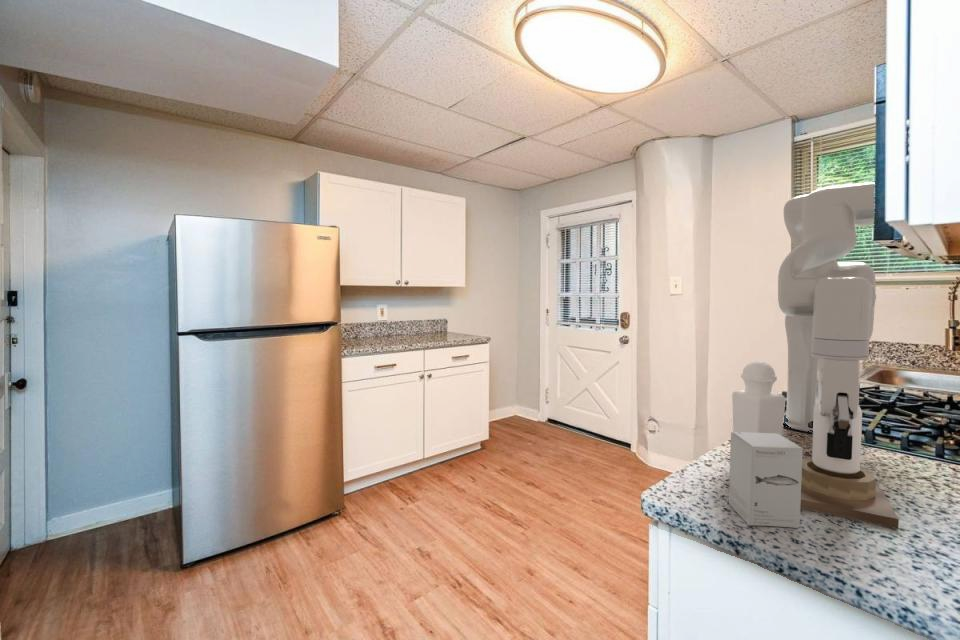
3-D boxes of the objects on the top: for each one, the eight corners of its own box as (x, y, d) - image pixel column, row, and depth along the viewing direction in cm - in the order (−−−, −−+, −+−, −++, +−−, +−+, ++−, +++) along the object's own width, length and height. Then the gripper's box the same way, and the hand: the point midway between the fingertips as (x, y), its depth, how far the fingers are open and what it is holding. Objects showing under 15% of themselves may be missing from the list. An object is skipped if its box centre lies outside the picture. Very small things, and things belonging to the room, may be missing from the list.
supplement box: (749, 527, 66) (751, 445, 65) (727, 503, 73) (729, 430, 72) (801, 530, 65) (804, 447, 64) (775, 505, 72) (777, 431, 71)
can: (861, 478, 71) (864, 406, 70) (812, 469, 75) (814, 400, 74) (858, 465, 76) (860, 398, 75) (811, 457, 80) (813, 393, 79)
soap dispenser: (755, 461, 91) (758, 357, 89) (784, 474, 84) (787, 362, 83) (729, 465, 89) (731, 359, 88) (757, 478, 83) (759, 364, 81)
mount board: (786, 468, 87) (787, 446, 86) (872, 483, 80) (873, 459, 79) (791, 506, 72) (792, 480, 71) (898, 528, 65) (899, 499, 64)
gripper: (807, 342, 83) (804, 434, 84) (817, 353, 69) (813, 463, 70) (858, 345, 79) (855, 440, 80) (880, 357, 65) (875, 473, 66)
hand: (835, 450), depth 75 cm, fingers closed on can, 6 cm apart
